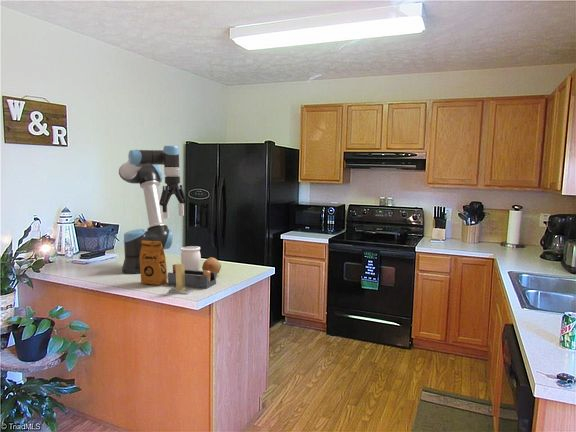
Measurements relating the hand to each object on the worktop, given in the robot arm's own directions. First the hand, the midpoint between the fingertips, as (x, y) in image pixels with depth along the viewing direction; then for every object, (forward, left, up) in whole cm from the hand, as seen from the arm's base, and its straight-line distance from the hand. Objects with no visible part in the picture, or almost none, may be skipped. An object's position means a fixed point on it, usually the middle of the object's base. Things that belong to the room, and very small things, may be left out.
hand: (173, 217), depth 220 cm
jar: (+3, +10, -33) cm, 34 cm away
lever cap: (+16, -20, -33) cm, 42 cm away
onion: (+15, +11, -33) cm, 38 cm away
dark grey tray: (+14, -7, -33) cm, 36 cm away
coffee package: (-5, -11, -33) cm, 35 cm away
